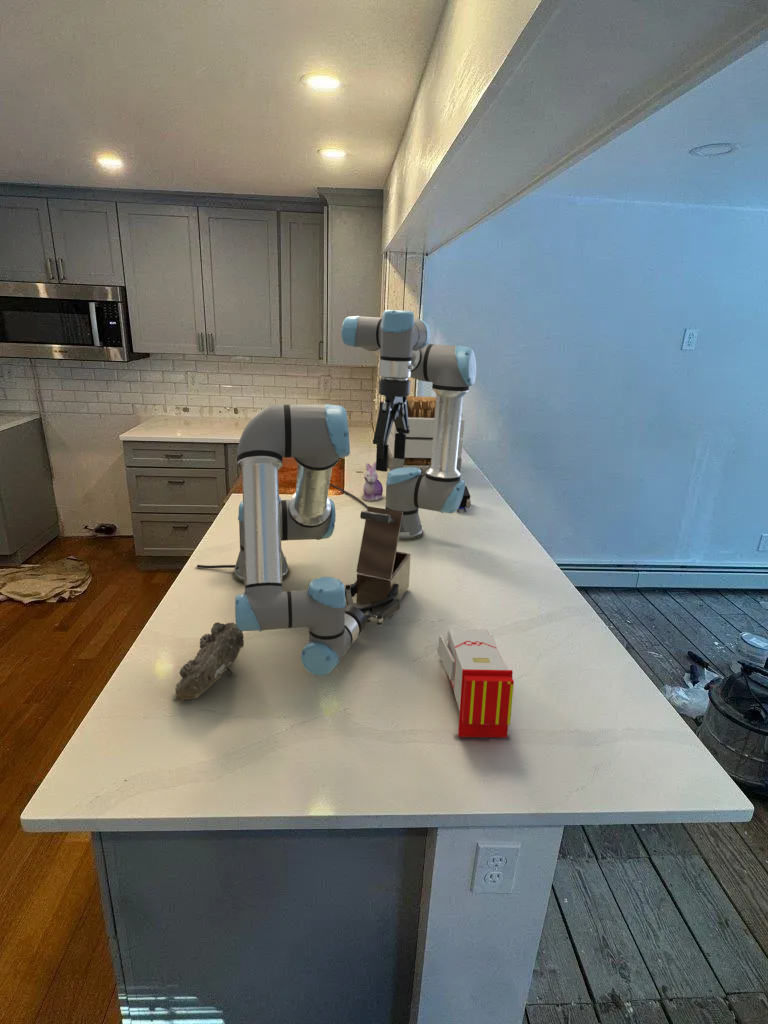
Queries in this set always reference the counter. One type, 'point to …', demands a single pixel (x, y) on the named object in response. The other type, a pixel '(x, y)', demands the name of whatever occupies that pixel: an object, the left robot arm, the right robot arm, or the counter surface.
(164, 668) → the counter surface
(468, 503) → the figurine character
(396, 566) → the chest
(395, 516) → the lid
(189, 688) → the fossil
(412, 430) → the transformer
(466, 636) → the toy
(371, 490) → the figurine
